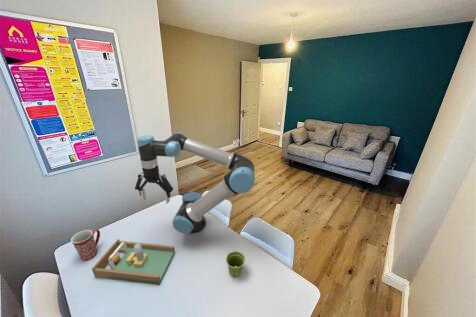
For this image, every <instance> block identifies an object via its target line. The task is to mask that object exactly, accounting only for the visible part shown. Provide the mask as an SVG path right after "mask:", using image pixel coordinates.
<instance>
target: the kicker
mask: <svg viewBox="0 0 476 317" xmlns="http://www.w3.org/2000/svg"><path fill="white" fill-rule="evenodd" d="M136 243H137V244H135V245H134V249H135V252H132V253H131V254H130V256H129V257H128V258H127V260H126V262H127V265H131V264H132V263H133V262H134V263H133V264H134V266H135V267H142V266H143V264H144V263H145V261H146V260H147V258H148V254H143V252H142V248H141V244H140V243H141V242H136Z"/></svg>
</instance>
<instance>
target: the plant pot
mask: <svg viewBox="0 0 476 317" xmlns="http://www.w3.org/2000/svg"><path fill="white" fill-rule="evenodd" d="M225 263H226V264H227V268H228V274H230V276H231V277H233V278H237V277H240V276H241V274H242V270H243V267H244V265H245V264H246V256H245V255H244V254H243V252H241V251H237V250H235V251H231V252H229V253H228V254H227V255H226V257H225ZM235 266H236V267H235Z"/></svg>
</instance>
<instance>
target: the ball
mask: <svg viewBox="0 0 476 317" xmlns="http://www.w3.org/2000/svg"><path fill="white" fill-rule="evenodd" d="M111 255H112V254H111ZM111 255H110V256H111ZM110 256H109V257H110ZM120 258H121V257H120V254H119V252H118V253H117V254H116V255H115V256H114V257H113V263H114V265H115V264H116V263H117V264H118V263H119V262H120V260H121V259H120Z"/></svg>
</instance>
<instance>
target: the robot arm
mask: <svg viewBox="0 0 476 317" xmlns="http://www.w3.org/2000/svg"><path fill="white" fill-rule="evenodd" d="M136 140H137V142H136V143H137V148H138V153H139V158H140V164H141V168H142V169H141V170H142V172H140V173H139V174H138V175H137V181H136V183H135V187H134V190H135V191H136V190H137V191H138V192H139V193H138V194H139V196H140V197H141V202H143V203H144V202H145V201H146V200H147V195H146V190H145V187H146V185H147V184H156V185H158V186H159V187H160V188H161V189H162V190H163V191H164V197H165V204H169V202H171V200H170V197H171V196H172V195H171V193H172V192H173V190H174V188H173V186H172V184H171V182H170V181H169V180H168V178H167V176H166V174H165V173H164V174H160V168H159V162H158V157H166V158H167V157H168V158H173V157H174V158H175V157H179V156H180V154H181V151H183V152H186V153H189V154H191V155H194V156H197V157H200V158H203V159H205V160H208V161H211V162H214V163H217V164H219V165H222V166H225V167H226V169H228V170H229V172H226V174H225V175H223V179H222V181H220V182H219V183H217V185H214V187H213V188H211V189H210V190H209V191H207V192H206V193H204V194H203V195H202V194H201V193H199V192H196V191H194V192H193V191H191V192H187V193H185V194H183V195H182V197H181V198H182V199H181V200H182V204H181V206H180V207H179V208H178V210H177V212H176V213H175V215H174V217H173V219H172V222H171V223H172V226H173V227H172V228H174V229H175V230H176V232H178V233H180V234H190V233H191V234H196V233H199V232H201V231H202V230H204V229H205V228H206V226H207V219H206V217H205V215H206V214H207V213H208V212H210V211H211V210H212V209H214V208H216V206H218V205H220V204H221V203H222V202H224V201H225V200H227V199H228V198H229V197H231V196H232V195H239V194H245V193H247V192H249V191H250V190H251V189H252V188H253V186H254V184H255V180H256V178H255V176H256V175H255V165H254V162H252V160H251V159H250V158H249V157H246V156H244V155H243V154H239V153H237V152H227V151H225V150H223V149H220V148H216V147H213V146H211V145H208V144H205V143H204V142H203V143H202V142H200V141H197V140H195V139H192V138H189V137H187V136H186V135H185V134H184V133H182V132H175V133H173V134H172V135H171V136H169V137H168V138H167V139H164V140H155V137H154V135H151V134H148V135H147V134H145V135H141V136H138V138H137V139H136ZM143 178H144V181H143ZM142 181H143V182H142Z"/></svg>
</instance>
